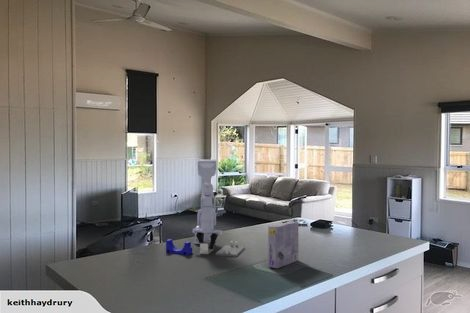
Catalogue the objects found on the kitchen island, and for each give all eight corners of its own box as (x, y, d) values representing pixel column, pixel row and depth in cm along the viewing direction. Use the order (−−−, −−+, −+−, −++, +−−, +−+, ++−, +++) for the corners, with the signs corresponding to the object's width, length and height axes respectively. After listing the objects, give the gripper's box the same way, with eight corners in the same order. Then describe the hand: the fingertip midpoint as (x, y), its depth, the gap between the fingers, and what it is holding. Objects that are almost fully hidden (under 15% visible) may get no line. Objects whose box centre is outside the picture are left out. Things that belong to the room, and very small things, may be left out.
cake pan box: (290, 258, 189) (291, 219, 189) (300, 260, 186) (300, 221, 186) (266, 267, 175) (267, 226, 174) (276, 269, 171) (277, 227, 171)
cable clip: (192, 253, 196) (192, 241, 196) (187, 255, 192) (187, 243, 192) (171, 250, 202) (171, 238, 201) (166, 252, 198) (166, 240, 197)
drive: (199, 253, 196) (200, 243, 196) (206, 249, 204) (206, 239, 204) (207, 254, 195) (207, 243, 195) (213, 249, 203) (214, 239, 203)
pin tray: (215, 255, 193) (215, 247, 193) (225, 247, 209) (225, 240, 208) (236, 256, 190) (236, 249, 190) (244, 248, 206) (244, 241, 206)
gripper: (190, 221, 197) (190, 249, 198) (219, 223, 193) (218, 251, 194) (195, 218, 204) (195, 246, 204) (223, 220, 200) (223, 248, 201)
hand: (207, 248), depth 200 cm, fingers open, 5 cm apart
